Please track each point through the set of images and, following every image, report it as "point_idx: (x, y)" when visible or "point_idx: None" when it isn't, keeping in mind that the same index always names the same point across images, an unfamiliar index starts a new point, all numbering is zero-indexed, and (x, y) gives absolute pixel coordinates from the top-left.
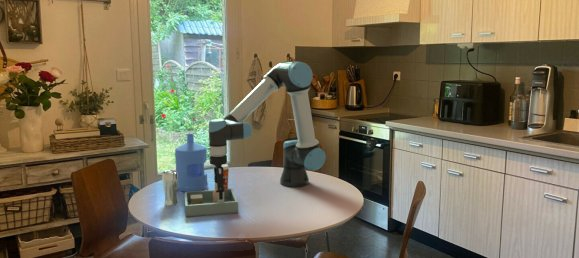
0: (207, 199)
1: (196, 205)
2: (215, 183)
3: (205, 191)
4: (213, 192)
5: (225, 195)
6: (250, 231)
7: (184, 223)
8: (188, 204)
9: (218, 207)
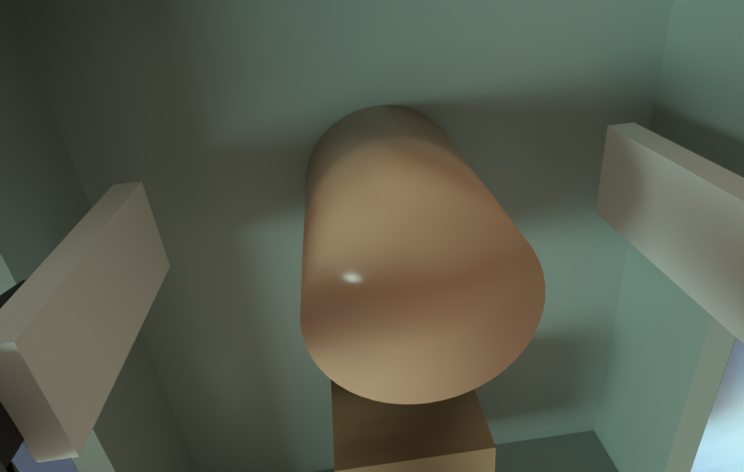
0: None
1: (691, 454)
2: (72, 446)
3: (101, 439)
4: (471, 376)
5: (15, 106)
6: None
7: (735, 419)
8: (293, 466)
9: None
